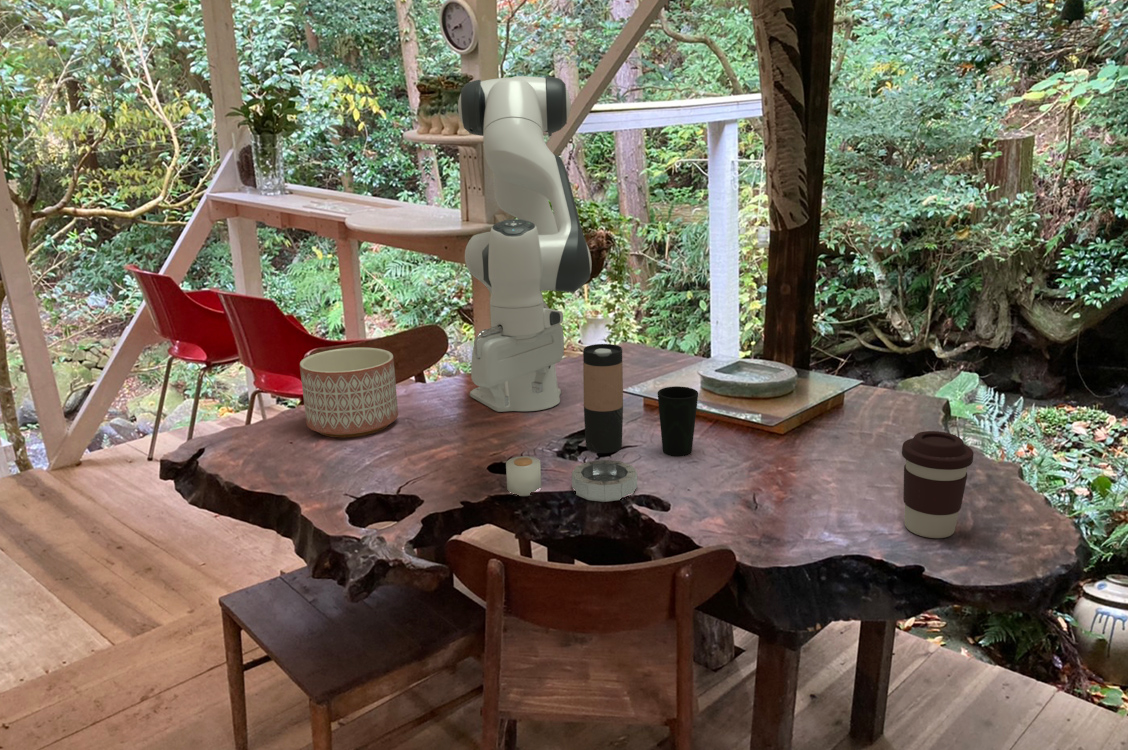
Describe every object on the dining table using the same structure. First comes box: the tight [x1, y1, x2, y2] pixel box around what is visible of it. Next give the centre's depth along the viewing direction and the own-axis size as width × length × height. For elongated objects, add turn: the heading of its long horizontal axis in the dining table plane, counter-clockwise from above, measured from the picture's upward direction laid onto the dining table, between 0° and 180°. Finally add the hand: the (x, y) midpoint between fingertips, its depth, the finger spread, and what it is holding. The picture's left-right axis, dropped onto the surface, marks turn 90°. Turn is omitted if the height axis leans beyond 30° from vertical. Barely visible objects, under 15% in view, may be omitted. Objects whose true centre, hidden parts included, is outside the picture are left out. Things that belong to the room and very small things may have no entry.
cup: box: [657, 385, 699, 458], centre depth 167 cm, size 8×8×12 cm
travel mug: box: [582, 343, 624, 454], centre depth 170 cm, size 8×8×20 cm
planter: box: [299, 346, 399, 439], centre depth 186 cm, size 19×19×15 cm
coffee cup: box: [901, 430, 975, 539], centre depth 134 cm, size 10×10×15 cm
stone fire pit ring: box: [571, 459, 638, 503], centre depth 153 cm, size 11×11×3 cm
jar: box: [505, 455, 542, 497], centre depth 153 cm, size 6×6×5 cm
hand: (520, 399), depth 149 cm, fingers open, 8 cm apart
